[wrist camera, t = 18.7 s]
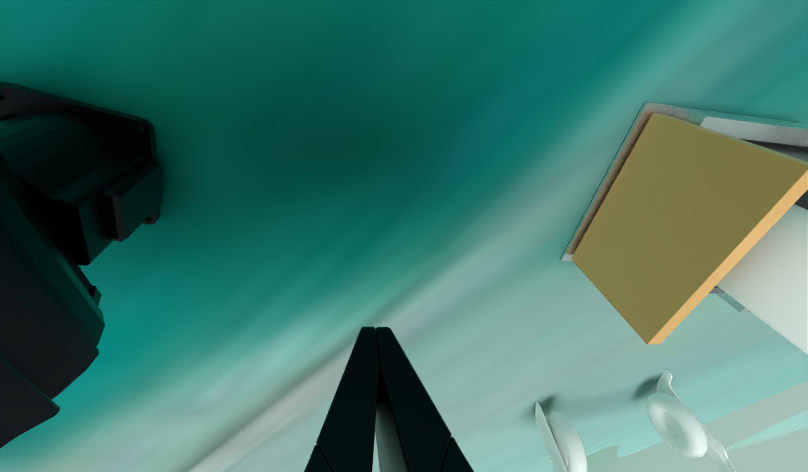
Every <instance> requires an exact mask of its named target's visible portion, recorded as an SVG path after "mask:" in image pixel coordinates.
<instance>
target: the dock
mask: <svg viewBox="0 0 808 472" xmlns="http://www.w3.org/2000/svg"><path fill="white" fill-rule="evenodd" d="M653 113H659V114H666V115H669V116H672V117H675V118H678V119H681V120H684V121H687V122H690V123H693V124H696V125H699V126H702V127H705V128H708V129H711V130H714V131H717V132H720V133H723V134H726V135H729V136H732V137H735V138H738V139H746V140H755V141H763V142H772V143H779V144H782V145H785V146H788V147H791V148H795V149H798V150H801V151H804V152H807V153H808V125H806V124H802V123H798V122H792V121H784V120H777V119H769V118H762V117H755V116H747V115H740V114H732V113H725V112H718V111H710V110H703V109H695V108H688V107H681V106H673V105H666V104H658V103H651V102H645V103H644V105H643V106H642V108H641V110H640V112H639V114H638V116H637V118H636V119H635V121H634V123H633V125H632V127H631V129H630V131H629V132H628V134H627V136H626V138H625V140H624V142H623V144H622V145H621V147H620V149H619V151H618V153H617V155H616V157H615V158H614V160H613V162H612V164H611V166H610V168H609V170H608V171H607V173H606V175H605V177H604V179H603V181H602V183H601V184H600V186H599V188H598V190H597V192H596V194H595V196H594V197H593V199H592V201H591V203H590V205H589V207H588V209H587V210H586V212H585V214H584V216H583V218H582V220H581V222H580V223H579V225H578V227H577V229H576V231H575V233H574V235H573V236H572V238H571V240H570V242H569V244H568V246H567V248H566V249H565V251H564V253H563V255H562V257H561V259H560V260H561V261H572V259H571V258H572V256H573V254H574V253H575V251H576V249H577V247H578V246H579V244H580V242H581V240H582V238H583V237H584V235H585V233H586V231H587V230H588V228H589V226H590V224H591V222H592V221H593V219H594V217H595V215H596V214H597V212H598V210H599V208H600V206H601V205H602V203H603V201H604V199H605V198H606V196H607V194H608V192H609V190H610V189H611V187H612V185H613V183H614V182H615V180H616V178H617V176H618V174H619V173H620V171H621V169H622V167H623V166H624V164H625V162H626V160H627V159H628V157H629V155H630V153H631V151H632V150H633V148H634V146H635V144H636V143H637V141H638V139H639V137H640V135H641V134H642V132H643V130H644V128H645V127H646V125H647V123H648V121H649V119H650V118H651V116H652V114H653ZM716 294H717V295H718V296H719V297H721V298H722V299H723V300H725V301H726V302H727V303H728V304H730V305H731V306H732V307H734V308H735V309H736V310H737V311H739V312H750V311H749V310H748V309H747V308H745V307H744V306H743V305H742V304H740V303H739V302H738V301H736V300H735V299H734V298H732V297H731V296H730V295H728V294H727V293H716Z"/></svg>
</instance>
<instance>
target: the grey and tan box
mask: <svg viewBox="0 0 808 472" xmlns="http://www.w3.org/2000/svg"><path fill="white" fill-rule="evenodd" d="M793 204H795V205H797V206H800V207H802V208H804V209H807V210H808V153H807V152H804V151H801V150H798V149H795V148H791V147H788V146H785V145H782V144H779V143H772V142H763V141H755V140H746V139H738V138H735V137H732V136H729V135H726V134H723V133H720V132H717V131H714V130H711V129H708V128H705V127H702V126H699V125H696V124H693V123H690V122H687V121H684V120H681V119H678V118H675V117H672V116H669V115H666V114H659V113H653V114H652V116H651V118H650V119H649V121H648V123H647V125H646V127H645V128H644V130H643V132H642V134H641V135H640V137H639V139H638V141H637V143H636V144H635V146H634V148H633V150H632V151H631V153H630V155H629V157H628V159H627V160H626V162H625V164H624V166H623V167H622V169H621V171H620V173H619V174H618V176H617V178H616V180H615V182H614V183H613V185H612V187H611V189H610V190H609V192H608V194H607V196H606V198H605V199H604V201H603V203H602V205H601V206H600V208H599V210H598V212H597V214H596V215H595V217H594V219H593V221H592V222H591V224H590V226H589V228H588V230H587V231H586V233H585V235H584V237H583V238H582V240H581V242H580V244H579V246H578V247H577V249H576V251H575V253H574V254H573V256H572V258H571V259H572V261H573V262H574V263H575V264H576V265H577V266H578V267H579V268H580V270H581V271H582V272H583V273H584V274H585V275H586V276H587V277H588V279H589V280H590V281H591V282H592V283H593V284H594V285H595V286H596V288H597V289H598V290H599V291H600V292H601V293H602V294H603V295H604V297H605V298H606V299H607V300H608V301H609V302H610V303H611V304H612V306H613V307H614V308H615V309H616V310H617V311H618V312H619V313H620V315H621V316H622V317H623V318H624V319H625V320H626V321H627V322H628V324H629V325H630V326H631V327H632V328H633V329H634V330H635V331H636V333H637V334H638V335H639V336H640V337H641V338H642V339H643V340H644V342H645V343H646V344H660V343H661V342H662V341H663V340H664V339H665V338H666V337H667V336H668V335H669V334H670V333H671V332H672V331H673V330H674V329H675V328H676V327H677V326H678V325H679V323H680V322H681V321H682V320H683V319H684V318H685V317H686V316H687V315H688V314H689V313H690V312H691V311H692V310H693V309H694V308H695V307H696V306H697V305H698V304H699V303H700V302H701V300H702V299H703V298H704V297H705V296H706V295H707V294H708V293H726V292H724V291H723V290H722V289H720V288H719V287H718V286H716V285H717V284H718V283H719V282H720V281H721V280H722V279H723V277H724V276H725V275H726V274H727V273H728V272H729V271H730V270H731V269H732V268H733V267H734V266H735V265H736V264H737V263H738V262H739V261H740V260H741V259H742V258H743V257H744V256H745V254H746V253H747V252H748V251H749V250H750V249H751V248H752V247H753V246H754V245H755V244H756V243H757V242H758V241H759V240H760V239H761V238H762V237H763V236H764V235H765V234H766V233H767V231H768V230H769V229H770V228H771V227H772V226H773V225H774V224H775V223H776V222H777V221H778V220H779V219H780V218H781V217H782V216H783V215H784V214H785V213H786V212H787V211H788V210H789V208H790V207H791V206H792V205H793Z"/></svg>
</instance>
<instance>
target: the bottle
mask: <svg viewBox="0 0 808 472" xmlns="http://www.w3.org/2000/svg"><path fill="white" fill-rule="evenodd" d="M716 286H718V287H719V288H720V289H722V290H723V291H724V292H726V293H727V294H728V295H730V296H731V297H732V298H734V299H735V300H736V301H738V302H739V303H740V304H742V305H743V306H744V307H745V308H747V309H748V310H749V311H751V312H752V313H753V314H755V315H756V316H757V317H759V318H760V319H761V320H763V321H764V322H765V323H767V324H768V325H769V326H771V327H772V328H773V329H775V330H776V331H777V332H779V333H780V334H781V335H783V336H784V337H785V338H787V339H788V340H789V341H791V342H792V343H793V344H795V345H796V346H797V347H799V348H800V349H801V350H803V351H804V352H805V353H807V354H808V210H807V209H804V208H802V207H800V206H797V205H795V204H793V205H792V206H791V207H790V208H789V210H788V211H787V212H786V213H785V214H784V215H783V216H782V217H781V218H780V219H779V220H778V221H777V222H776V223H775V224H774V225H773V226H772V227H771V228H770V229H769V230H768V231H767V233H766V234H765V235H764V236H763V237H762V238H761V239H760V240H759V241H758V242H757V243H756V244H755V245H754V246H753V247H752V248H751V249H750V250H749V251H748V252H747V253H746V254H745V256H744V257H743V258H742V259H741V260H740V261H739V262H738V263H737V264H736V265H735V266H734V267H733V268H732V269H731V270H730V271H729V272H728V273H727V274H726V275H725V276H724V277H723V279H722V280H721V281H720V282H719V283H718V284H717V285H716Z"/></svg>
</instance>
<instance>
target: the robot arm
mask: <svg viewBox="0 0 808 472" xmlns="http://www.w3.org/2000/svg"><path fill="white" fill-rule="evenodd" d="M0 91H1V92H2V93H3V94H4V95H5V97H3V96H2V95H0V448H1V447H3V446H4V445H6V444H7V443H8V442H10V441H11V440H13V439H14V438H16V437H17V436H19V435H21V434H22V433H24V432H26V431H28V430H30V429H32V428H33V427H35V426H37V425H39V424H41V423H43V422H44V421H46V420H48V419H50V418H52V417H53V416H55V415H56V414H57V413H58V412H59V410H60V407H59V406H58V405H56V404H55V403H54V402H53V401H52V399H53V398H55V397H56V396H58V395H59V394H60V393H61V392H62V391H63V390H64V389H66V388H67V387H68V386H69V385H70V384H71V383H72V382H73V381H75V380H76V379H77V378H78V377H79V376H80V375H81V374H82V373H84V372H85V371H86V369H87V368H88V367H89V366H90V364H91V363H92V362H93V361H94V360H95V358H96V357H97V356H98V354H99V350H98V348H97V347H96V346H97V345H98V343H99V340H100V337H101V335H102V332H103V329H104V326H105V324H104V319H103V314H102V311H101V310H100V308H99V307H98V305H99V301H100V298H101V293H100V292H99V290H98V289H97V287H96V286H92V285H91V284H90V282H89V281H88V279H87V278H86V276H85V275H84V273H83V272H82V271H81V269H80V268H79V266H78V265H89V264H90V263H91V262H92V261H93V260H94V259H95V258H96V257H97V256H98V255H99V254H100V253H101V252H102V251H103V250H104V249H105V248H106V247H107V246H108V245H109V244H110V243H111V242H112V241H119V242H122V241H123V240H125V239H127V238H128V237H129V236H130V235H131V234H132V233H133V232H134V231H135V230H136V229H137V228H138V227H139V226H140V225H141V223H144V224H154V223H155V222H156V221H157V220H158V219H159V217H160V211H159V205H160V204H161V203H162V201H163V196H162V180H161V165H160V164H159V162H158V161H157V160H156V154H155V140H154V130H153V127H152V126H151V124H150V123H149V122H147V121H146V120H144V119H141V118H137V117H133V116H129V115H126V114H122V113H118V112H114V111H110V110H107V109H103V108H99V107H95V106H91V105H88V104H84V103H80V102H76V101H72V100H69V99H65V98H61V97H57V96H53V95H50V94H46V93H42V92H38V91H34V90H31V89H27V88H23V87H19V86H15V85H12V84H8V83H4V82H0ZM137 126H140V127H142V128H143V129H144V132H145V133H143V132H140V131H139V130H138V128H137ZM149 215H150V216H151V217H148V216H149ZM375 432H376V441H377V449H378V458H379V467H380V472H474V471H473V469H472V468H471V466H470V464H469V463H468V461H467V460H466V458H465V456H464V455H463V453H462V451H461V450H460V448H459V446H458V444H457V443H456V441H455V439H454V438H453V437H451V432H450V431H449V429H448V427H447V426H446V424H445V422H444V420H443V419H442V417H441V415H440V413H439V412H438V410H437V408H436V406H435V405H434V403H433V401H432V400H431V398H430V396H429V394H428V393H427V391H426V389H425V387H424V386H423V384H422V382H421V380H420V379H419V377H418V375H417V373H416V372H415V370H414V368H413V367H412V365H411V363H410V361H409V360H408V358H407V356H406V354H405V353H404V351H403V349H402V347H401V346H400V344H399V342H398V341H397V339H396V337H395V335H394V334H393V332H392V330H391V329H390V328H389V327H377V328H376V329H375V327H362V328H361V330H360V332H359V335H358V337H357V340H356V343H355V345H354V348H353V350H352V353H351V355H350V358H349V360H348V363H347V365H346V368H345V371H344V373H343V376H342V378H341V381H340V383H339V386H338V388H337V391H336V393H335V396H334V399H333V401H332V404H331V406H330V409H329V411H328V414H327V416H326V419H325V421H324V424H323V426H322V429H321V432H320V434H319V437H318V439H317V442H316V445H315V446H314V449H313V451H312V454H311V457H310V459H309V462H308V464H307V466H306V469H305V471H304V472H372V465H373V451H374V437H375Z"/></svg>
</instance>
